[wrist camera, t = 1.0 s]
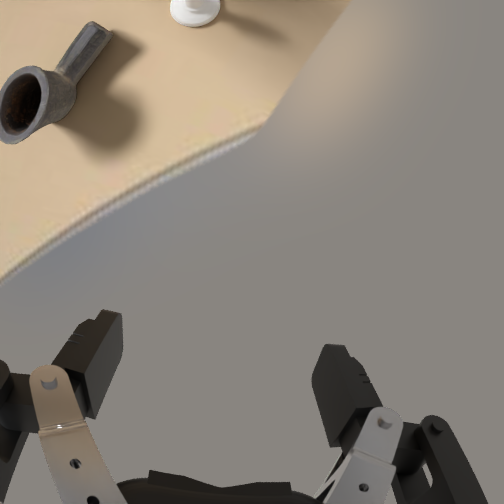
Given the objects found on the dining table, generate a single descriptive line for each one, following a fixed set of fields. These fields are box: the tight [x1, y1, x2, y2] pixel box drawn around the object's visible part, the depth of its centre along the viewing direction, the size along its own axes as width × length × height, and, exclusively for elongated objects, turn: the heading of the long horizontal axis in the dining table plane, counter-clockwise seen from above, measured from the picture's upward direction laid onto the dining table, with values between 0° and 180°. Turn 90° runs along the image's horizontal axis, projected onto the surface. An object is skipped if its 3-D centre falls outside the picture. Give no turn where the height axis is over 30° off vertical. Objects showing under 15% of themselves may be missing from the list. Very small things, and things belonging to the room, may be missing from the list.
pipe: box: [0, 21, 113, 144], centre depth 19 cm, size 6×13×8 cm, turn 137°
